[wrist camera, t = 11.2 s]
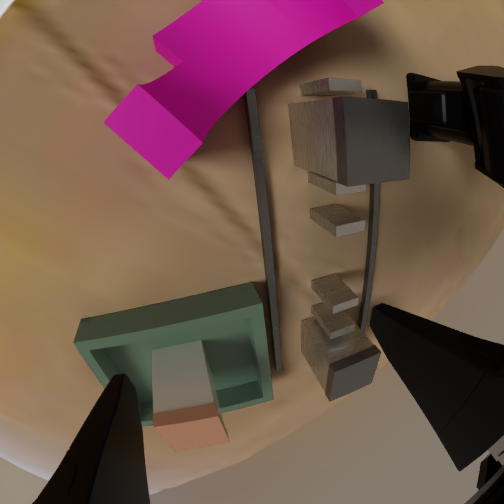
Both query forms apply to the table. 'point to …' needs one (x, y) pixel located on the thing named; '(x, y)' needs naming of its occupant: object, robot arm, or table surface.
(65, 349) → the table surface
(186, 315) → the tray
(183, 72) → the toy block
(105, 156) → the table surface
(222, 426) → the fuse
